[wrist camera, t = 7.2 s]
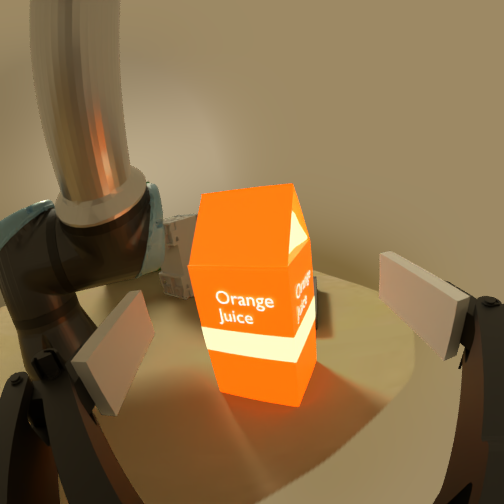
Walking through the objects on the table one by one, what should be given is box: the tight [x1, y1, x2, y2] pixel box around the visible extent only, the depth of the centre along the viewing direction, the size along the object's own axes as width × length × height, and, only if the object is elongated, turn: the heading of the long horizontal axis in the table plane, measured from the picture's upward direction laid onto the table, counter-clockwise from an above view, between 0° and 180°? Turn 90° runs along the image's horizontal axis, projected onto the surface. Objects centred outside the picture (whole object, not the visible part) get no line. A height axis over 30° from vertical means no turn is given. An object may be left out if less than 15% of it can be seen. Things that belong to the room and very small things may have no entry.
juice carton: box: [187, 184, 316, 407], centre depth 25 cm, size 8×9×20 cm
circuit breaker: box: [158, 214, 198, 300], centre depth 57 cm, size 8×14×15 cm, turn 144°
